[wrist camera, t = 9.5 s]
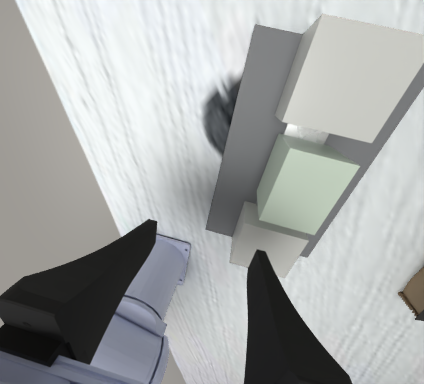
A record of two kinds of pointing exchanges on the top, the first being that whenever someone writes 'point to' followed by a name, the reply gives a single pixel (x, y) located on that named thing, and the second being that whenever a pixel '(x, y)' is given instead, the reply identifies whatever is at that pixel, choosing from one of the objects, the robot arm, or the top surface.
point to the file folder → (415, 295)
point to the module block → (302, 183)
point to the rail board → (281, 132)
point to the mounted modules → (333, 108)
